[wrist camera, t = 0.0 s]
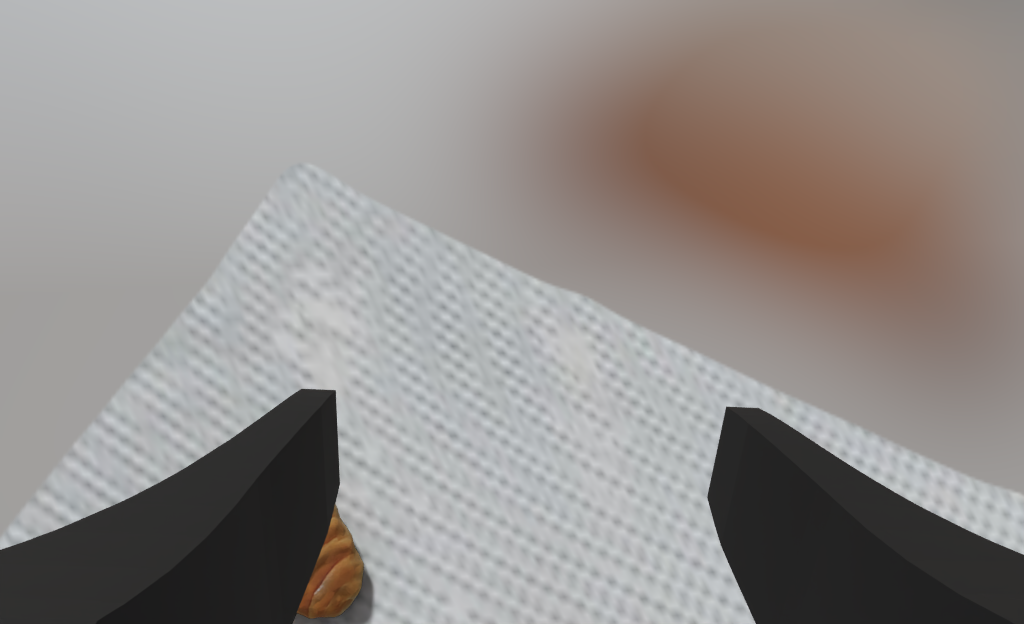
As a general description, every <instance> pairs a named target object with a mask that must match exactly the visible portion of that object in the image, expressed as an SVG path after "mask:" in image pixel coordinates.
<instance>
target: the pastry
mask: <svg viewBox="0 0 1024 624" xmlns="http://www.w3.org/2000/svg"><path fill="white" fill-rule="evenodd" d="M363 568H364V564H363V561H362V559H361V558H360V556H359V554H358V552H357V550H356V548H355V546H354V542H353V538H352V535H351V533H350V532H349V530H348V528H347V527H346V526H345V525H344V523H343V522H342V520H341V518H340V516H339V513H338V509H337V507H336V505H335V507H334V511H333V515H332V519H331V523H330V526H329V530H328V534H327V536H326V539H325V542H324V544H323V547H322V549H321V552H320V555H319V557H318V560H317V562H316V565H315V568H314V570H313V573H312V575H311V578H310V580H309V583H308V585H307V588H306V590H305V593H304V596H303V598H302V601H301V603H300V606H299V608H298V611H297V613H299V614H301V615H304V616H306V617H307V618H317V617H336V616H339V615H341V614H342V613H343V612H344V611H345V610H346V609H347V608H348V607H349V606H350V605H351V604H352V602H353V601H354V599H355V597H356V596H357V595H358V593H359V591H360V590H361V586H362V577H363Z"/></svg>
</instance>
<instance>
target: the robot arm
mask: <svg viewBox="0 0 1024 624" xmlns="http://www.w3.org/2000/svg"><path fill="white" fill-rule="evenodd" d="M339 485H340V478H339V456H338V433H337V411H336V390H316V389H301V390H299V391H298V392H296V393H295V394H293V395H292V396H290V397H289V398H287V399H286V400H285V401H283V402H282V403H281V404H279V405H278V406H276V407H275V408H274V409H272V410H271V411H270V412H268V413H267V414H265V415H264V416H263V417H261V418H260V419H259V420H257V421H256V422H254V423H253V424H252V425H250V426H249V427H247V428H246V429H244V430H243V431H242V432H240V433H239V434H237V435H236V436H235V437H233V438H232V439H230V440H229V441H227V442H226V443H224V444H222V445H221V446H219V447H218V448H216V449H215V450H213V451H211V452H210V453H208V454H207V455H205V456H204V457H202V458H200V459H199V460H197V461H196V462H194V463H193V464H191V465H189V466H188V467H186V468H185V469H183V470H181V471H179V472H178V473H176V474H174V475H172V476H171V477H169V478H167V479H165V480H163V481H162V482H160V483H158V484H156V485H154V486H152V487H150V488H148V489H146V490H144V491H142V492H140V493H138V494H136V495H135V496H133V497H131V498H129V499H126V500H124V501H122V502H120V503H118V504H116V505H113V506H111V507H109V508H106V509H104V510H102V511H99V512H97V513H95V514H93V515H90V516H88V517H86V518H83V519H81V520H79V521H76V522H74V523H72V524H69V525H67V526H65V527H62V528H60V529H57V530H55V531H52V532H50V533H47V534H44V535H41V536H39V537H36V538H33V539H31V540H28V541H25V542H23V543H20V544H17V545H14V546H11V547H8V548H5V549H2V550H0V624H292V623H293V621H294V618H295V616H296V613H297V611H298V608H299V606H300V603H301V601H302V598H303V596H304V593H305V590H306V588H307V585H308V583H309V580H310V578H311V575H312V573H313V570H314V568H315V565H316V562H317V560H318V557H319V555H320V552H321V549H322V547H323V544H324V542H325V539H326V536H327V534H328V530H329V526H330V523H331V519H332V515H333V511H334V507H335V502H336V498H337V494H338V489H339ZM707 498H708V501H709V505H710V509H711V513H712V516H713V520H714V524H715V527H716V530H717V534H718V537H719V540H720V543H721V546H722V549H723V551H724V553H725V556H726V558H727V560H728V563H729V565H730V567H731V569H732V572H733V574H734V576H735V578H736V581H737V583H738V585H739V587H740V590H741V592H742V594H743V596H744V598H745V601H746V603H747V605H748V607H749V609H750V612H751V614H752V616H753V618H754V620H755V623H756V624H1024V555H1023V554H1020V553H1018V552H1015V551H1013V550H1011V549H1008V548H1006V547H1004V546H1001V545H999V544H996V543H994V542H992V541H990V540H987V539H985V538H983V537H981V536H979V535H976V534H974V533H972V532H970V531H968V530H966V529H964V528H962V527H960V526H958V525H956V524H954V523H952V522H950V521H948V520H946V519H944V518H942V517H940V516H938V515H936V514H934V513H932V512H930V511H928V510H926V509H924V508H922V507H920V506H918V505H916V504H914V503H913V502H911V501H909V500H907V499H905V498H904V497H902V496H900V495H898V494H897V493H895V492H893V491H892V490H890V489H888V488H886V487H885V486H883V485H881V484H879V483H878V482H876V481H874V480H873V479H871V478H869V477H868V476H866V475H865V474H863V473H861V472H860V471H858V470H856V469H855V468H853V467H852V466H850V465H848V464H847V463H845V462H844V461H842V460H841V459H839V458H838V457H836V456H834V455H833V454H831V453H830V452H828V451H827V450H825V449H824V448H822V447H821V446H819V445H818V444H816V443H815V442H813V441H812V440H810V439H808V438H807V437H805V436H804V435H802V434H801V433H799V432H798V431H796V430H795V429H793V428H792V427H790V426H789V425H787V424H785V423H784V422H782V421H781V420H779V419H777V418H776V417H774V416H772V415H771V414H769V413H767V412H765V411H763V410H761V409H759V408H742V407H726V411H725V416H724V421H723V425H722V430H721V435H720V440H719V444H718V449H717V454H716V459H715V463H714V468H713V473H712V478H711V482H710V487H709V492H708V497H707Z"/></svg>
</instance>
